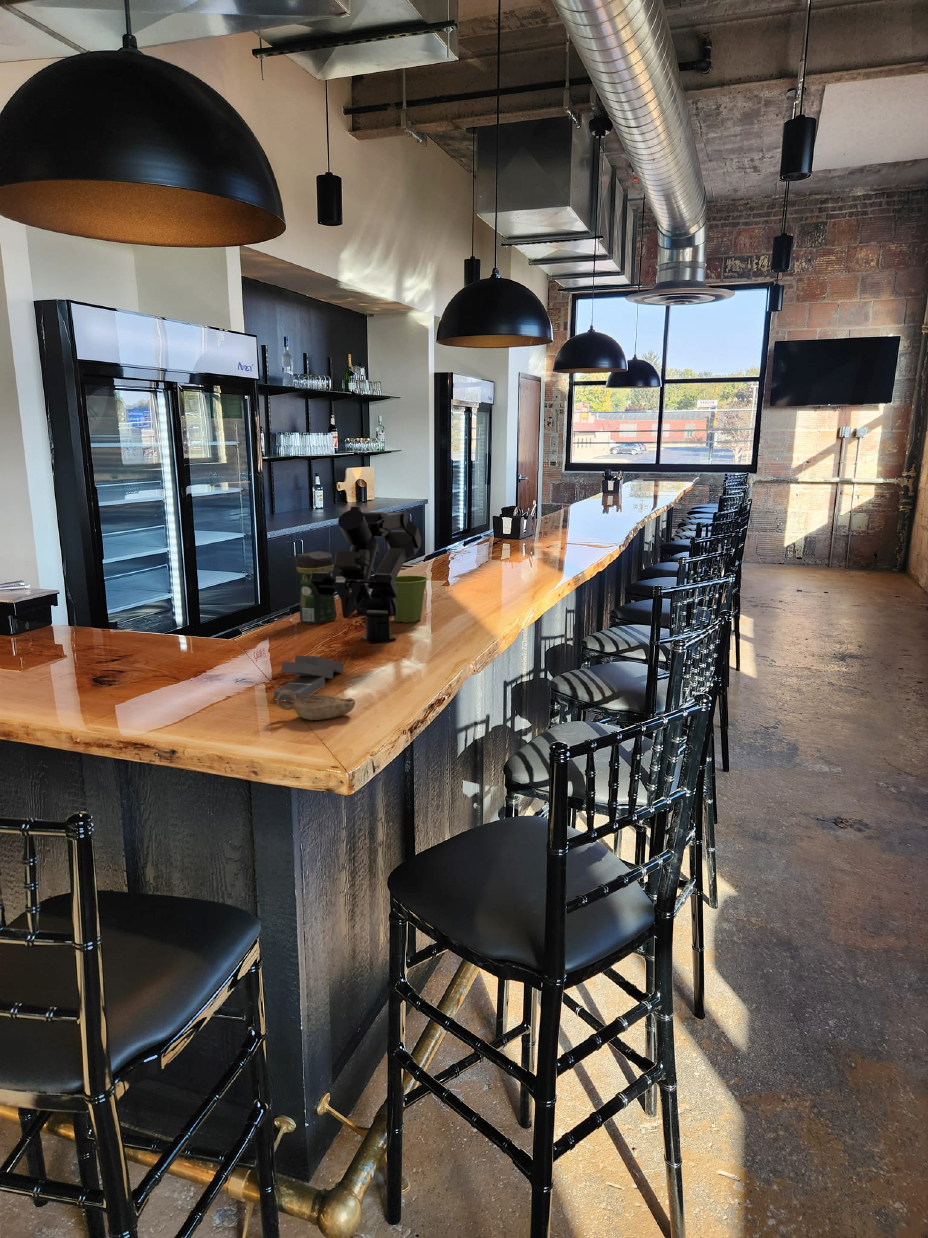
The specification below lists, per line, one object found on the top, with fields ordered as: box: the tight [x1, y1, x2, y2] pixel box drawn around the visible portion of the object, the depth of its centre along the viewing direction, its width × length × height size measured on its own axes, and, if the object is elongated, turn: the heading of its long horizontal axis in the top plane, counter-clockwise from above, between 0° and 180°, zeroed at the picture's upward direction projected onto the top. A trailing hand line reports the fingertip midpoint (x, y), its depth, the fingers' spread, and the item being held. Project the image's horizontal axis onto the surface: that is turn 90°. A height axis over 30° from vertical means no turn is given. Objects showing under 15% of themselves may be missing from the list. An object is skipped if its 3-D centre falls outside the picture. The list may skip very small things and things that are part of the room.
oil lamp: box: [276, 690, 356, 721], centre depth 133 cm, size 13×8×5 cm, turn 90°
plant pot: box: [392, 575, 429, 624], centre depth 208 cm, size 12×12×11 cm
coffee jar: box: [296, 550, 338, 625], centre depth 208 cm, size 10×8×19 cm
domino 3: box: [294, 655, 345, 673], centre depth 156 cm, size 2×5×11 cm
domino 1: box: [280, 661, 334, 680], centre depth 152 cm, size 2×5×11 cm
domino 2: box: [273, 675, 326, 701], centre depth 147 cm, size 2×5×11 cm
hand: (345, 617), depth 167 cm, fingers closed
